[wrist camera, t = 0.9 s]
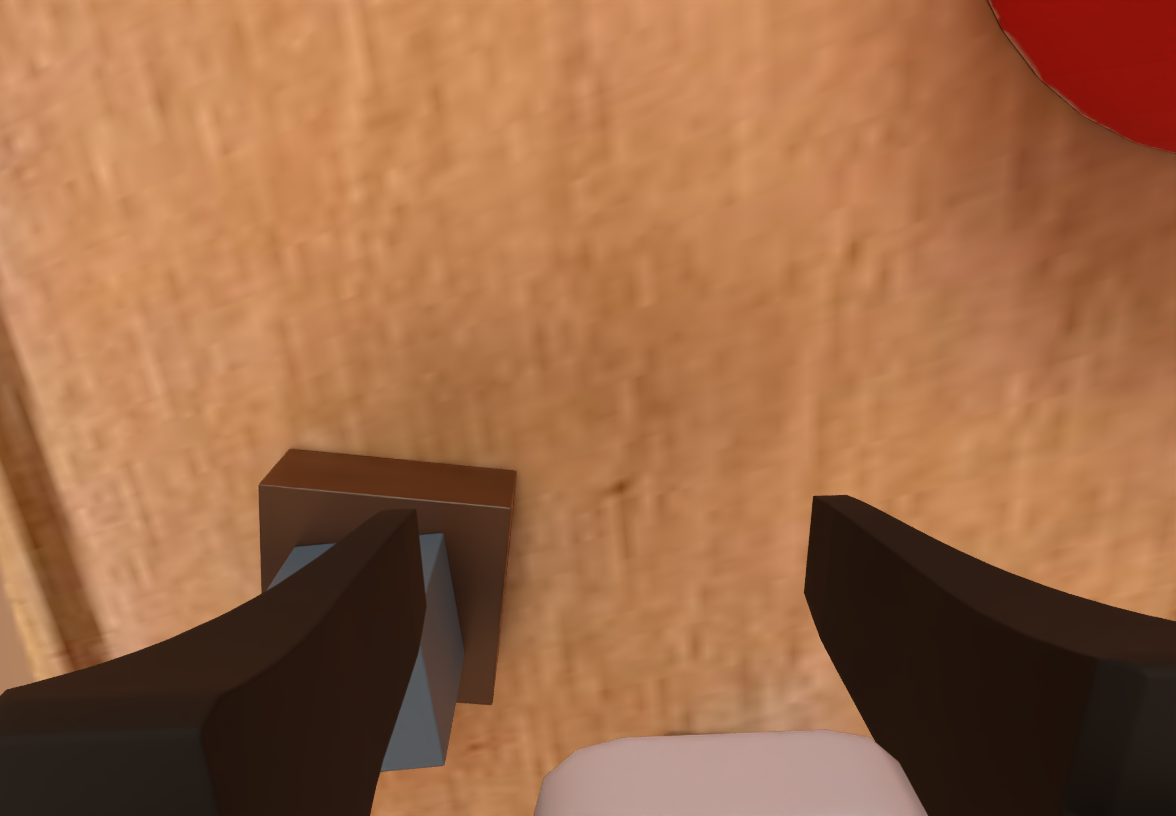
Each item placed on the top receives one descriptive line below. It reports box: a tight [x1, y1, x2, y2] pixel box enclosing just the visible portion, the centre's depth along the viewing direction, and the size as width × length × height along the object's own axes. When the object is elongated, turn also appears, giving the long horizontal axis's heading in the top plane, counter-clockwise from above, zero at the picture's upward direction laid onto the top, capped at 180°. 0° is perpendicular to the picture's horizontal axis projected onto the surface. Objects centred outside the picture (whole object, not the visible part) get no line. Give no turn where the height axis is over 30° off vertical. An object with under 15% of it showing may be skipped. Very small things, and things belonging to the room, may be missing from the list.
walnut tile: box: [259, 449, 516, 705], centre depth 24 cm, size 7×7×3 cm
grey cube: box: [266, 533, 465, 772], centre depth 20 cm, size 4×4×4 cm
